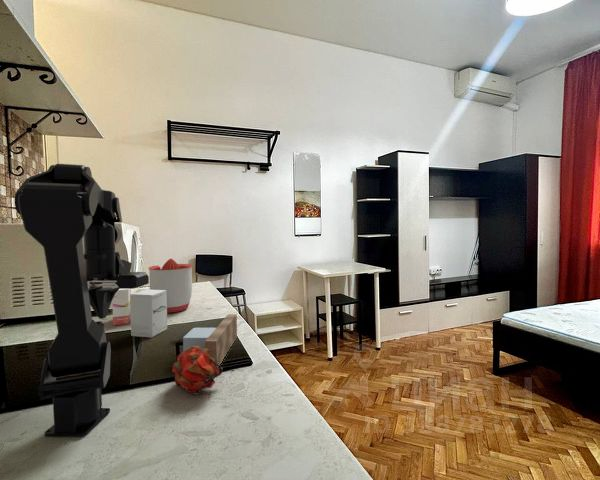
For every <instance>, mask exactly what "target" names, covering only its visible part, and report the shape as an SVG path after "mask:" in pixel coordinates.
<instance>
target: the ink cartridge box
mask: <svg viewBox="0 0 600 480" xmlns="http://www.w3.org/2000/svg"><path fill="white" fill-rule="evenodd" d="M131 294H132V289H119V290H118V291H117V292H116V294H115V295H114V297H113V299H112V302H111V305H112V325H113V326H120V325H121V326H122V325H129V324H131V309H130V295H131Z"/></svg>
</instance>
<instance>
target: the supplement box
mask: <svg viewBox="0 0 600 480" xmlns="http://www.w3.org/2000/svg"><path fill="white" fill-rule="evenodd" d="M130 309H131V320H130V336H131V337H141V338H143V337H144V338H154V337H155V336H157V335H158V334H161V333H162V332H165V331H167V330H168V313H167V294H166V290H150V289H144V290H141V291H137V292H135V293H131V295H130Z"/></svg>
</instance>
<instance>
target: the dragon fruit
mask: <svg viewBox="0 0 600 480" xmlns="http://www.w3.org/2000/svg"><path fill="white" fill-rule="evenodd" d="M209 352H210V350H209V349H207V348H204V349H201V348H200V347H199V346H192V347H191V348H187V349H186V350H185V351H183V350H182V351H181V352H180V353H179V354H178V355H177V357H176V362H174V363H173V365H172V370H171V372H172V373H174V383H175V386H176V388H177V389H181V388H182V387H183V388H185V389H186V391H187V392H189V393H190V394H191V395H196V396H197V395H203V393H202V392H201V388H203V389H207V388H208V389H212V387H213V386H214V385H215V384H216V381H215V380H214V379H216V378H218V377H219V376H221V375H222V373H223V369H224V368H223V366H220V368H217V367H215V366H214V365H212V364H213V363H214V364H215V365H217V366H219V365H218V364H216V363H215V358H214V357H213V356H211V355H208V354H209Z"/></svg>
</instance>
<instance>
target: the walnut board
mask: <svg viewBox="0 0 600 480" xmlns="http://www.w3.org/2000/svg"><path fill="white" fill-rule="evenodd" d="M215 328H216V329H215V330H214V331H213V333H212V334H211V335H210V336H209V337H208V338H207V340H206V341H205V348H207V349H209V350H210V352H209V354H208V355H211V356H213V357H214V358H215V363H216V364H218V365H219V366H220V364H221V363H222V361H223V359H224V357H225V356H226V354H227V352H228V351H229V349H230V347H231V346H232V344H233V343H234V341H235V340H236V341H237V339H238V317H237V314H234V313H233V314H231V313H229V314H227V315H226V316H225V318H224V319H223V320H221V322H220V323H219V324H218V326H217V327H215ZM236 338H237V339H236ZM236 341H235V342H236ZM234 344H235V343H234ZM234 344H233V345H234ZM232 347H233V346H232ZM230 350H231V349H230ZM229 352H230V351H229ZM227 355H228V354H227ZM226 357H227V356H226ZM224 360H225V359H224ZM223 362H224V361H223ZM222 364H223V363H222ZM222 364H221V365H222ZM212 365H214V366H215V367H217V368H218V367H219V366H217V365H215V364H214V363H213V364H212ZM220 367H221V366H220Z"/></svg>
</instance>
